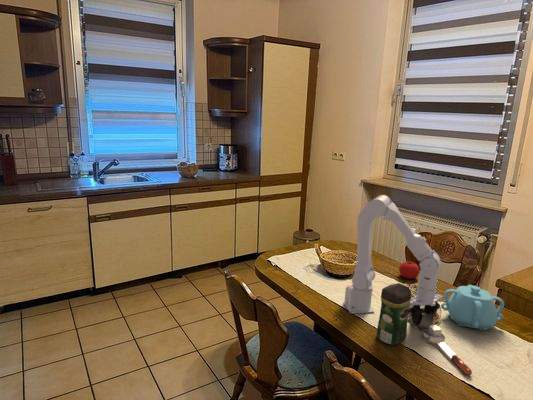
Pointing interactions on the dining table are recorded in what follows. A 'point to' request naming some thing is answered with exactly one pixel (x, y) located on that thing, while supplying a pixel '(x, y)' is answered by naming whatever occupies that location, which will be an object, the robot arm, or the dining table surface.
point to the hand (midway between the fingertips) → (421, 322)
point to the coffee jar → (394, 314)
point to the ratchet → (444, 347)
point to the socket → (424, 319)
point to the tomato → (409, 270)
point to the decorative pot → (473, 307)
